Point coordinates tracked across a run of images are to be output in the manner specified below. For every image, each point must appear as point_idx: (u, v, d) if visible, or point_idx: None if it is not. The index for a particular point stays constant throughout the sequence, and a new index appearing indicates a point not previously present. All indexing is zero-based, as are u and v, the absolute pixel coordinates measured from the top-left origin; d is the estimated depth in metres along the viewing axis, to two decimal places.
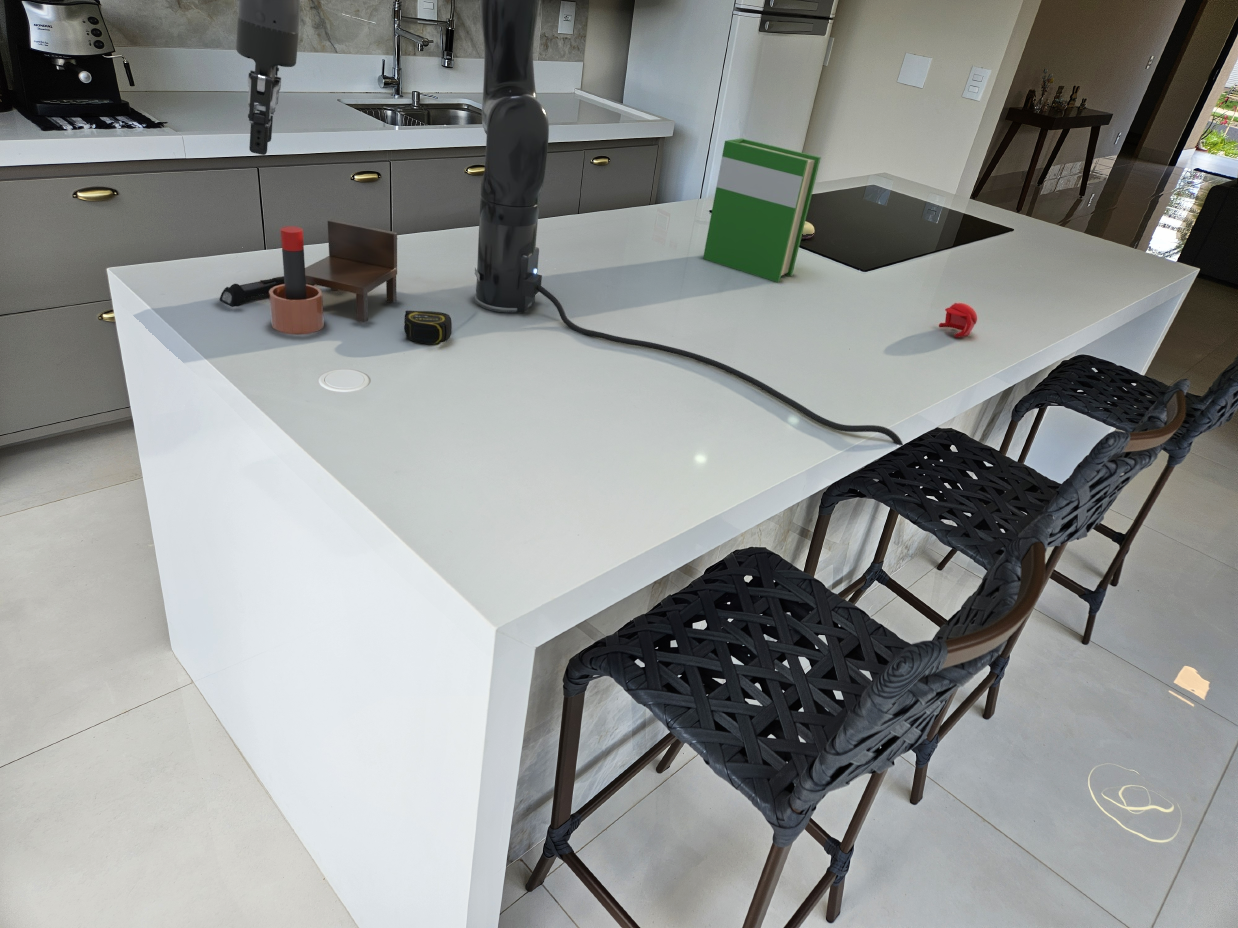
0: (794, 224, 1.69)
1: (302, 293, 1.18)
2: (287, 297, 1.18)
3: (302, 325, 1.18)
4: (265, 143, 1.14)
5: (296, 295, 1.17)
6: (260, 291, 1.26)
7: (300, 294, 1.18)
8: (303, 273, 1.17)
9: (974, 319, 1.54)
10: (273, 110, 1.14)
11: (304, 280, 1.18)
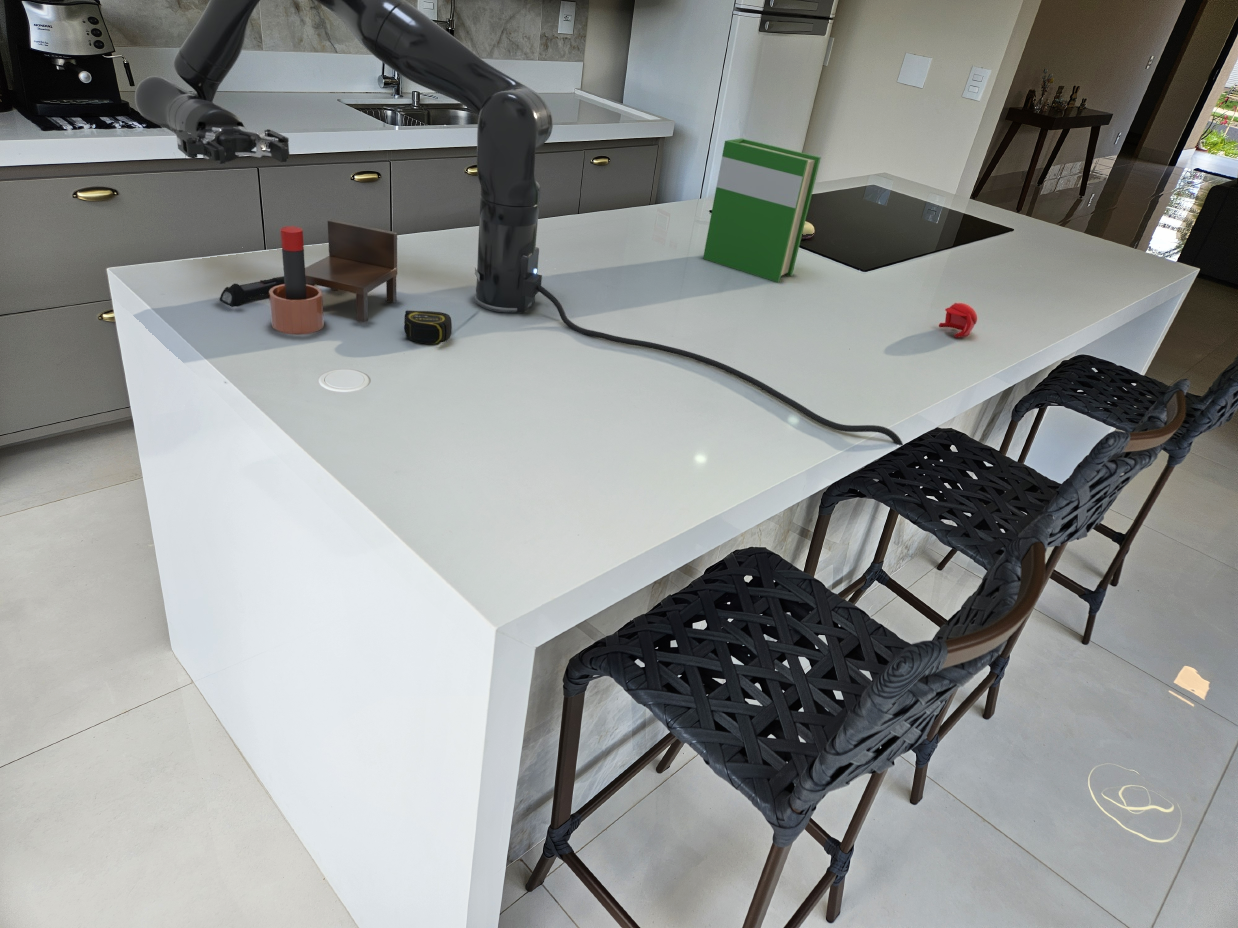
0: (794, 224, 1.69)
1: (302, 293, 1.18)
2: (287, 297, 1.18)
3: (302, 325, 1.18)
4: (214, 147, 1.15)
5: (296, 295, 1.17)
6: (260, 291, 1.26)
7: (300, 294, 1.18)
8: (303, 273, 1.17)
9: (974, 319, 1.54)
10: (210, 135, 1.18)
11: (304, 280, 1.18)
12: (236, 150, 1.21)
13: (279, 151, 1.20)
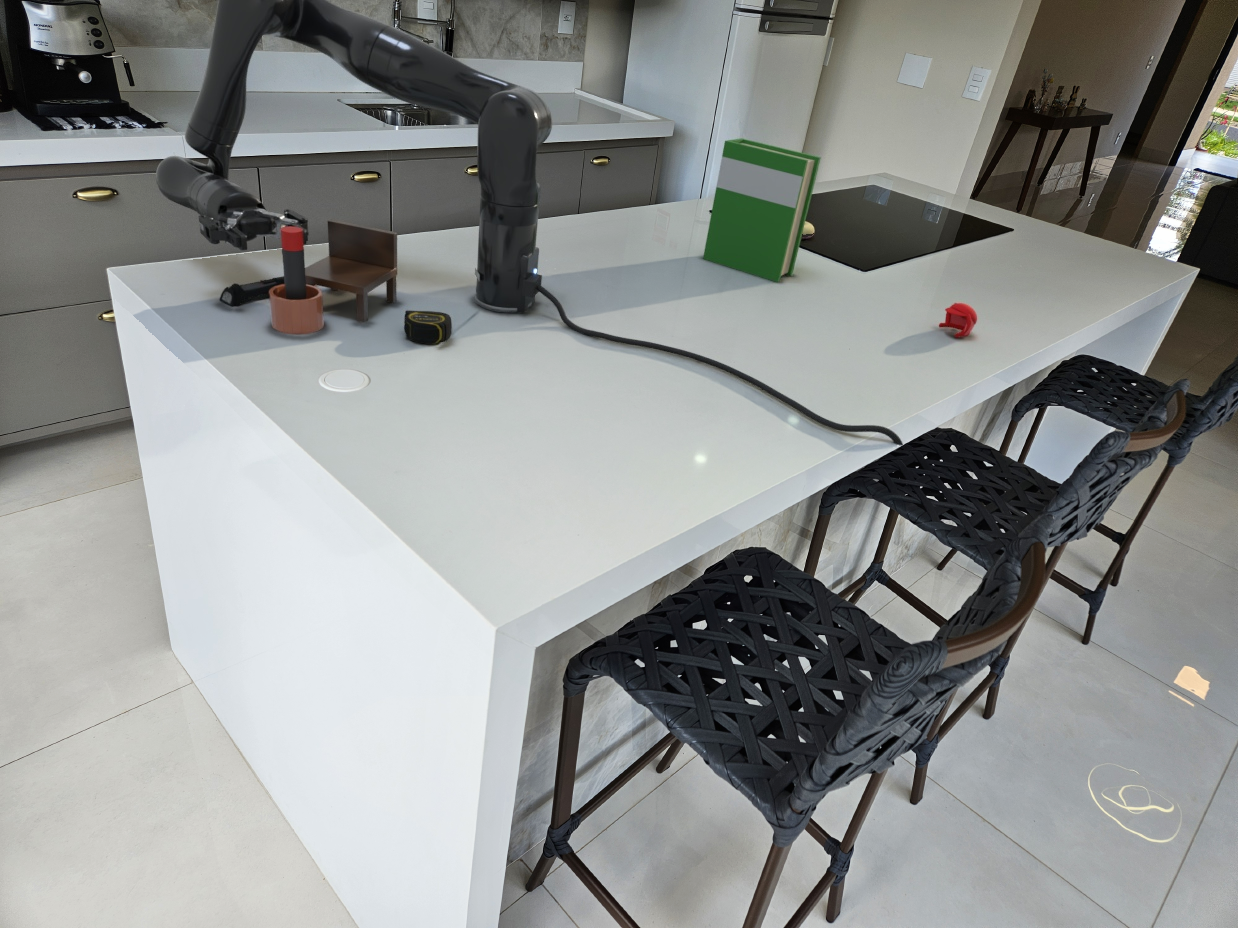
0: (794, 224, 1.69)
1: (302, 293, 1.18)
2: (287, 297, 1.18)
3: (302, 325, 1.18)
4: (236, 234, 1.17)
5: (296, 295, 1.17)
6: (260, 291, 1.26)
7: (300, 294, 1.18)
8: (303, 273, 1.17)
9: (974, 319, 1.54)
10: (232, 220, 1.20)
11: (304, 280, 1.18)
12: (257, 233, 1.24)
13: None
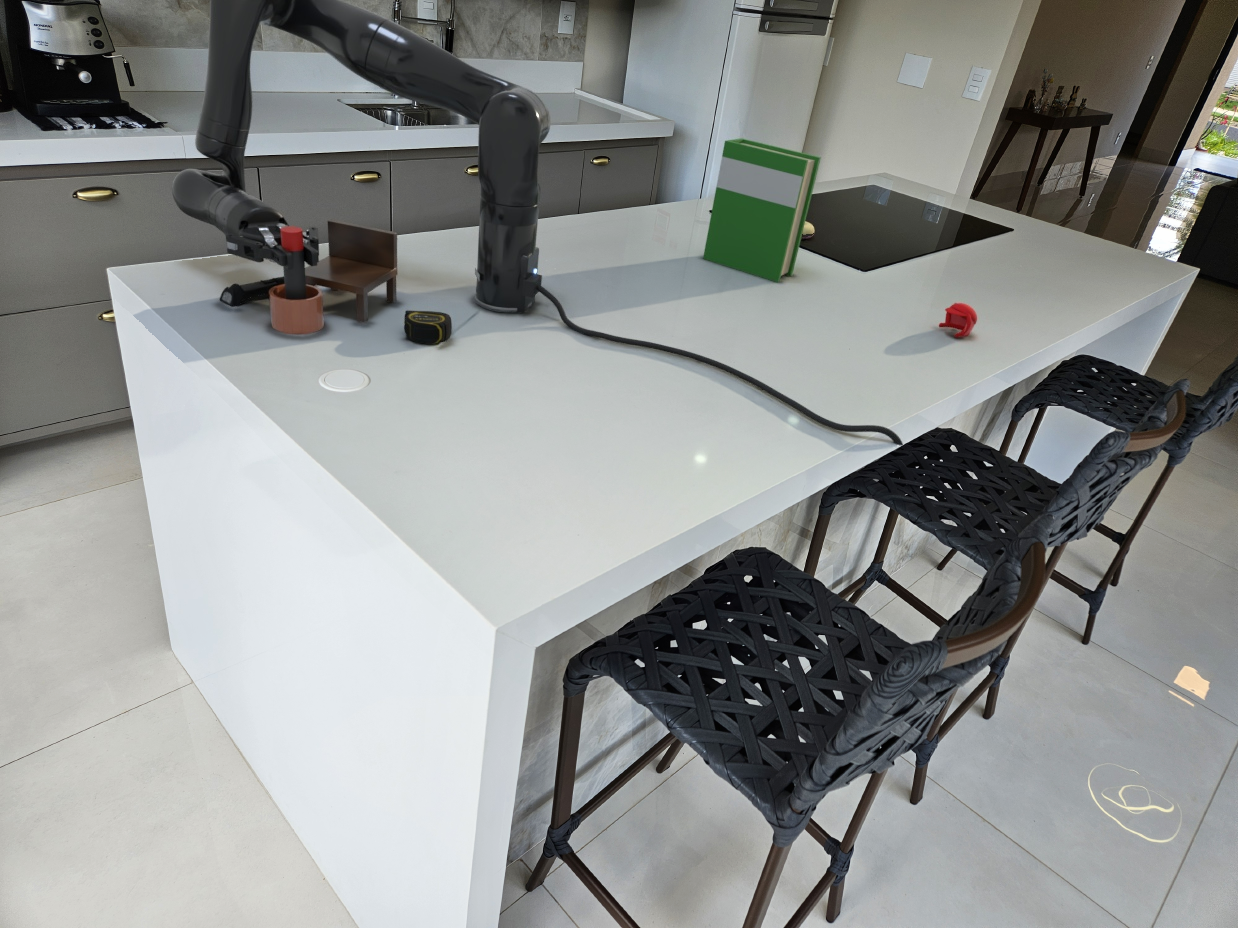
0: (794, 224, 1.69)
1: (302, 293, 1.18)
2: (287, 297, 1.18)
3: (302, 325, 1.18)
4: (282, 252, 1.13)
5: (295, 295, 1.17)
6: (260, 291, 1.26)
7: (300, 294, 1.18)
8: (303, 273, 1.17)
9: (974, 319, 1.54)
10: (269, 237, 1.16)
11: (304, 280, 1.18)
12: None
13: (309, 255, 1.15)
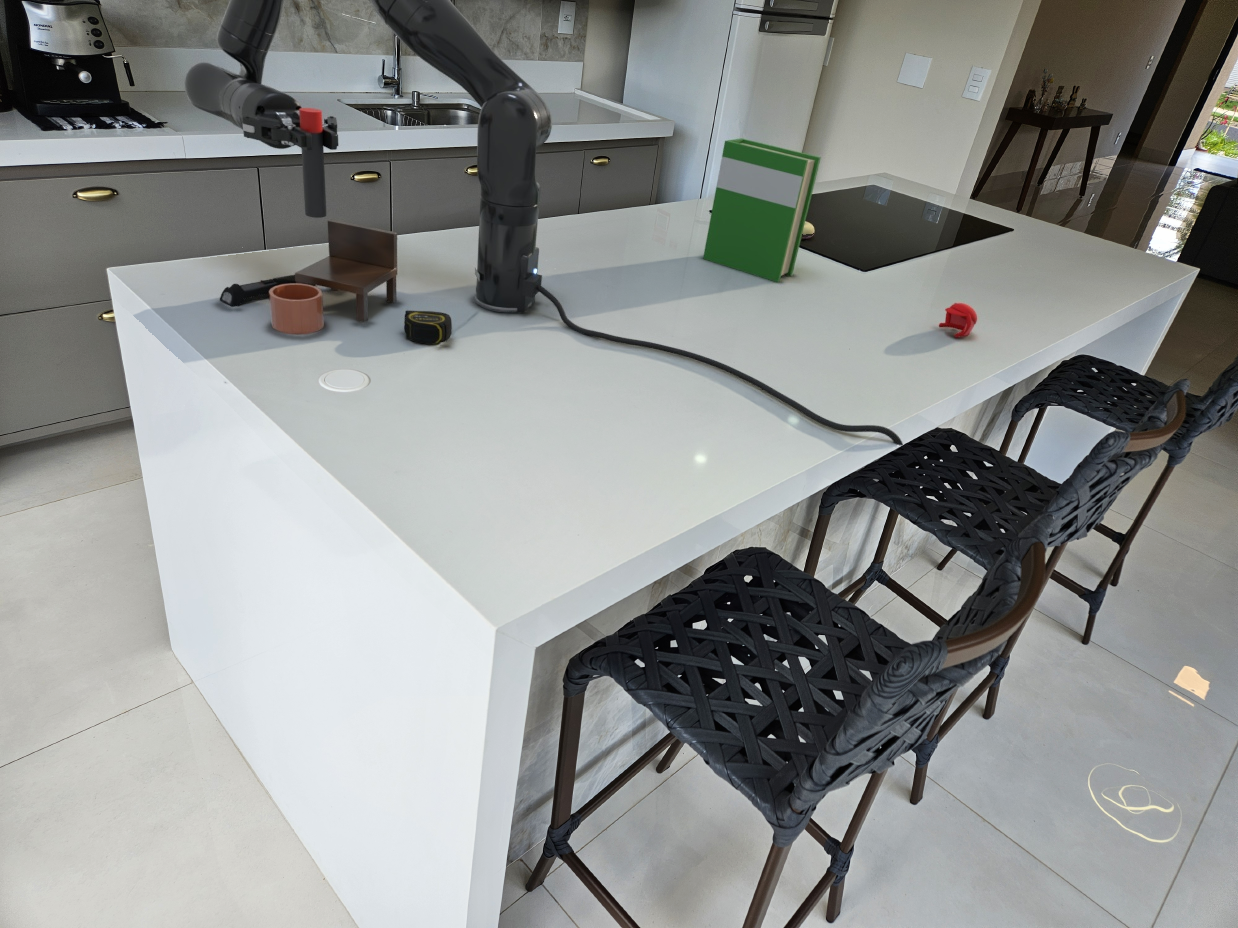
0: (794, 224, 1.69)
1: (320, 180, 1.14)
2: (305, 184, 1.14)
3: (302, 325, 1.18)
4: (301, 132, 1.10)
5: (314, 182, 1.14)
6: (260, 291, 1.26)
7: (319, 180, 1.14)
8: (322, 158, 1.13)
9: (974, 319, 1.54)
10: (286, 120, 1.12)
11: (323, 166, 1.14)
12: None
13: (328, 138, 1.12)
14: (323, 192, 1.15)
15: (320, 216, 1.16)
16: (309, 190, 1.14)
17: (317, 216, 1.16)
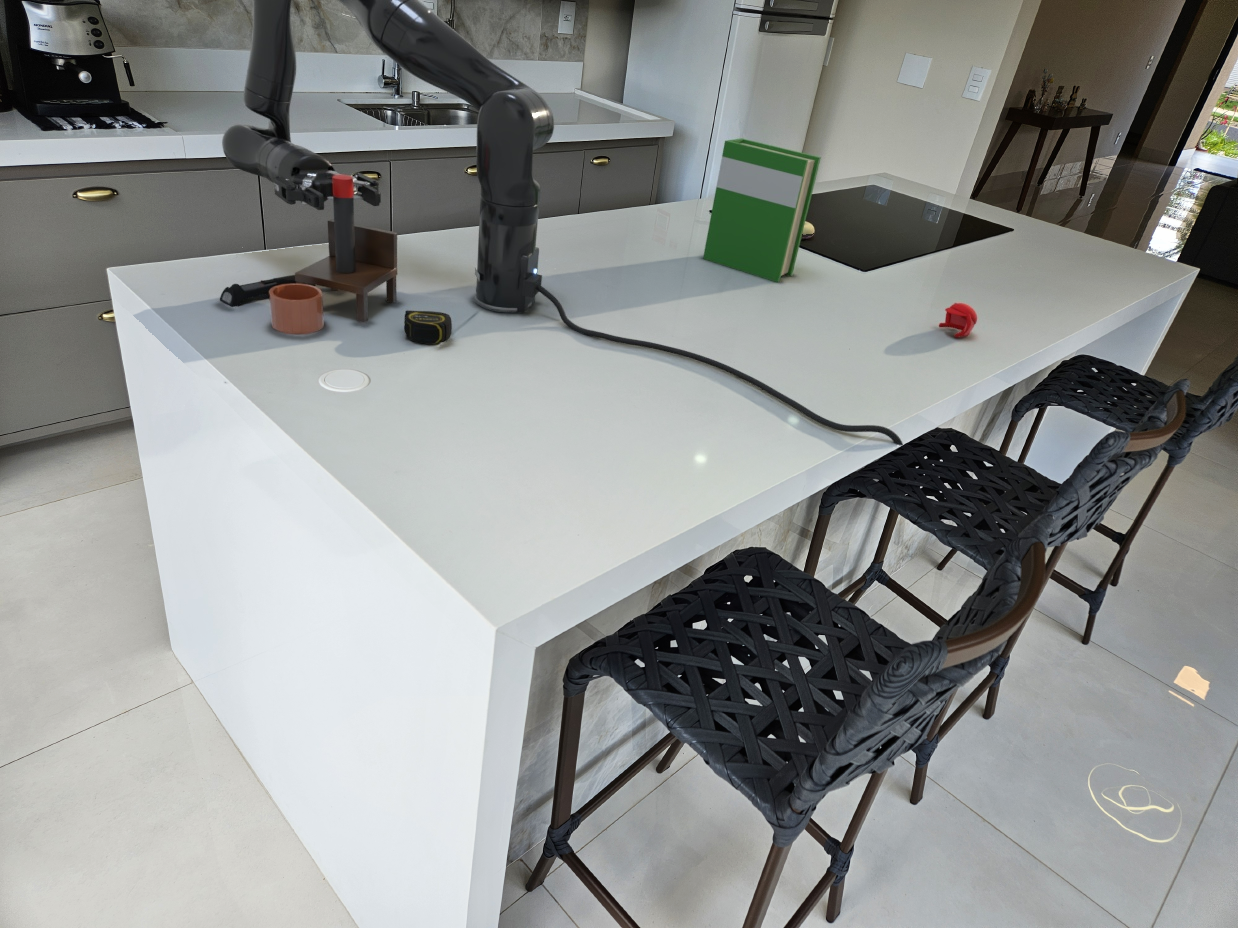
0: (794, 224, 1.69)
1: (351, 240, 1.24)
2: (337, 243, 1.24)
3: (302, 325, 1.18)
4: (314, 194, 1.18)
5: (345, 241, 1.24)
6: (260, 291, 1.26)
7: (349, 240, 1.24)
8: (352, 220, 1.23)
9: (974, 319, 1.54)
10: (307, 181, 1.21)
11: (353, 227, 1.24)
12: (329, 195, 1.25)
13: (372, 195, 1.23)
14: (353, 250, 1.25)
15: (350, 272, 1.26)
16: (340, 248, 1.24)
17: (347, 272, 1.26)
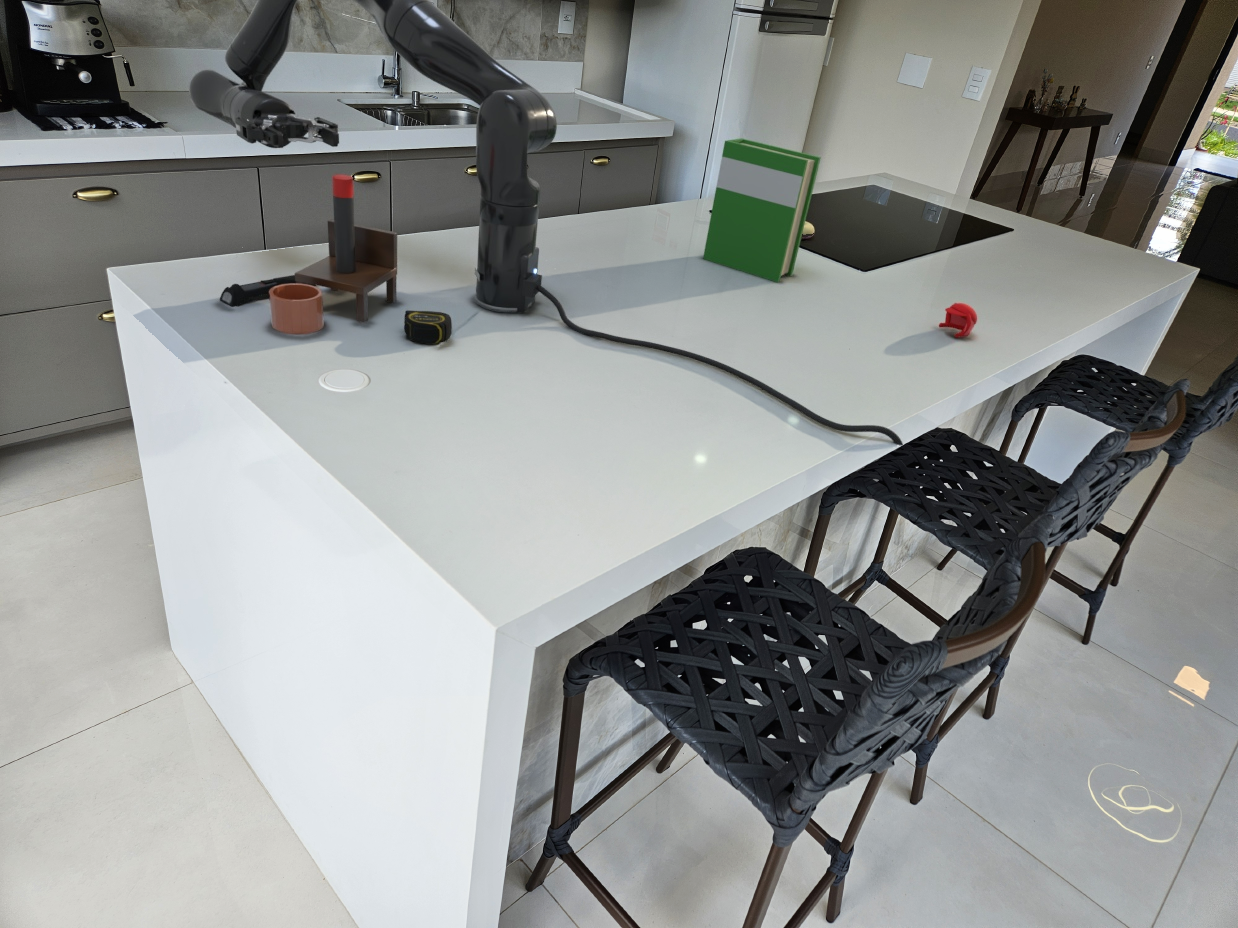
0: (794, 224, 1.69)
1: (351, 240, 1.24)
2: (337, 243, 1.24)
3: (302, 325, 1.18)
4: (273, 132, 1.23)
5: (345, 241, 1.24)
6: (260, 292, 1.26)
7: (349, 240, 1.24)
8: (352, 220, 1.23)
9: (974, 319, 1.54)
10: (267, 121, 1.26)
11: (353, 227, 1.24)
12: (290, 136, 1.30)
13: (330, 136, 1.28)
14: (353, 250, 1.25)
15: (350, 272, 1.26)
16: (340, 248, 1.24)
17: (347, 272, 1.26)
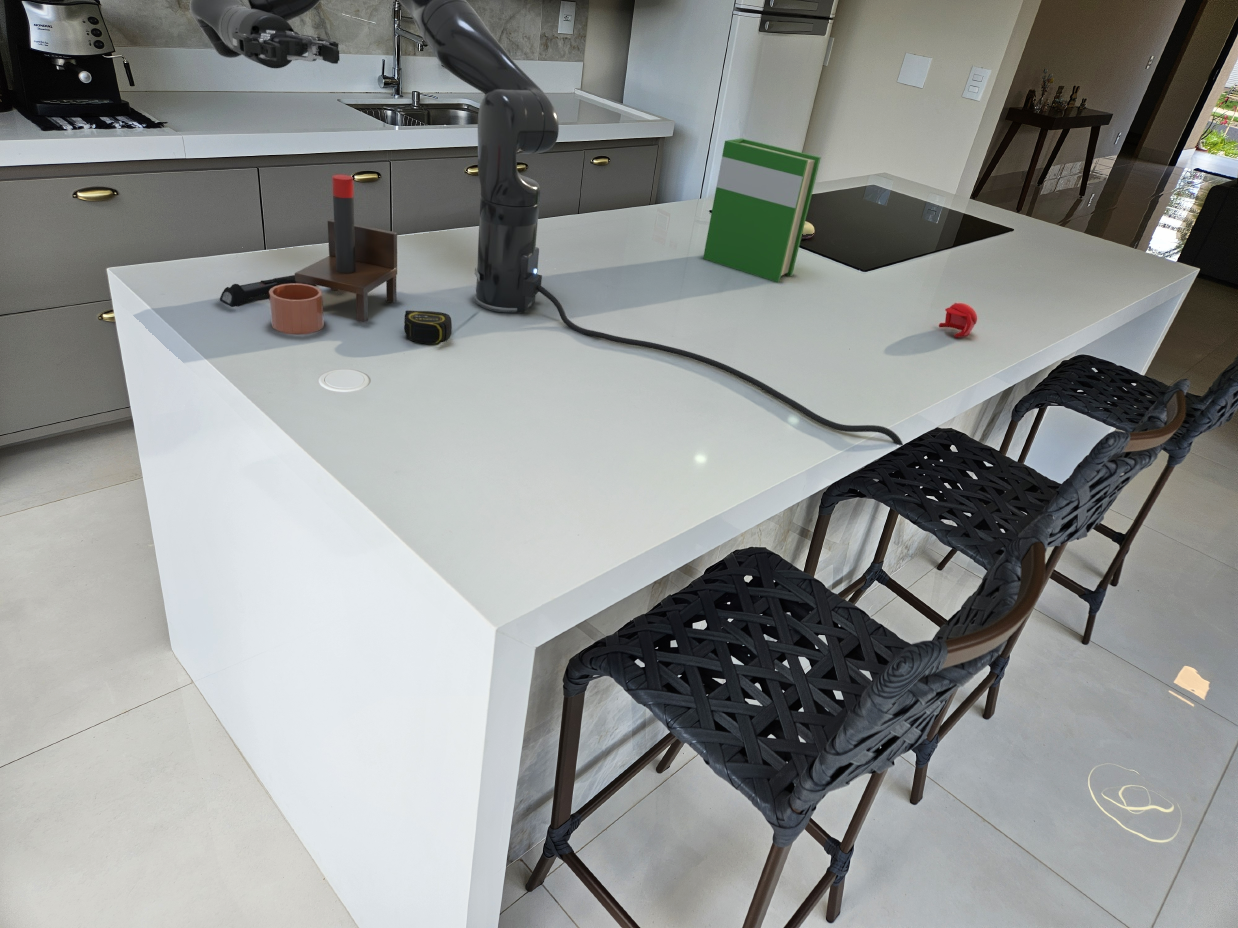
0: (794, 224, 1.69)
1: (351, 240, 1.24)
2: (337, 243, 1.24)
3: (302, 325, 1.18)
4: (271, 44, 1.19)
5: (345, 241, 1.24)
6: (260, 292, 1.26)
7: (349, 240, 1.24)
8: (352, 220, 1.23)
9: (974, 319, 1.54)
10: (265, 35, 1.22)
11: (353, 227, 1.24)
12: (289, 53, 1.26)
13: (330, 52, 1.24)
14: (353, 250, 1.25)
15: (350, 272, 1.26)
16: (340, 248, 1.24)
17: (347, 272, 1.26)
